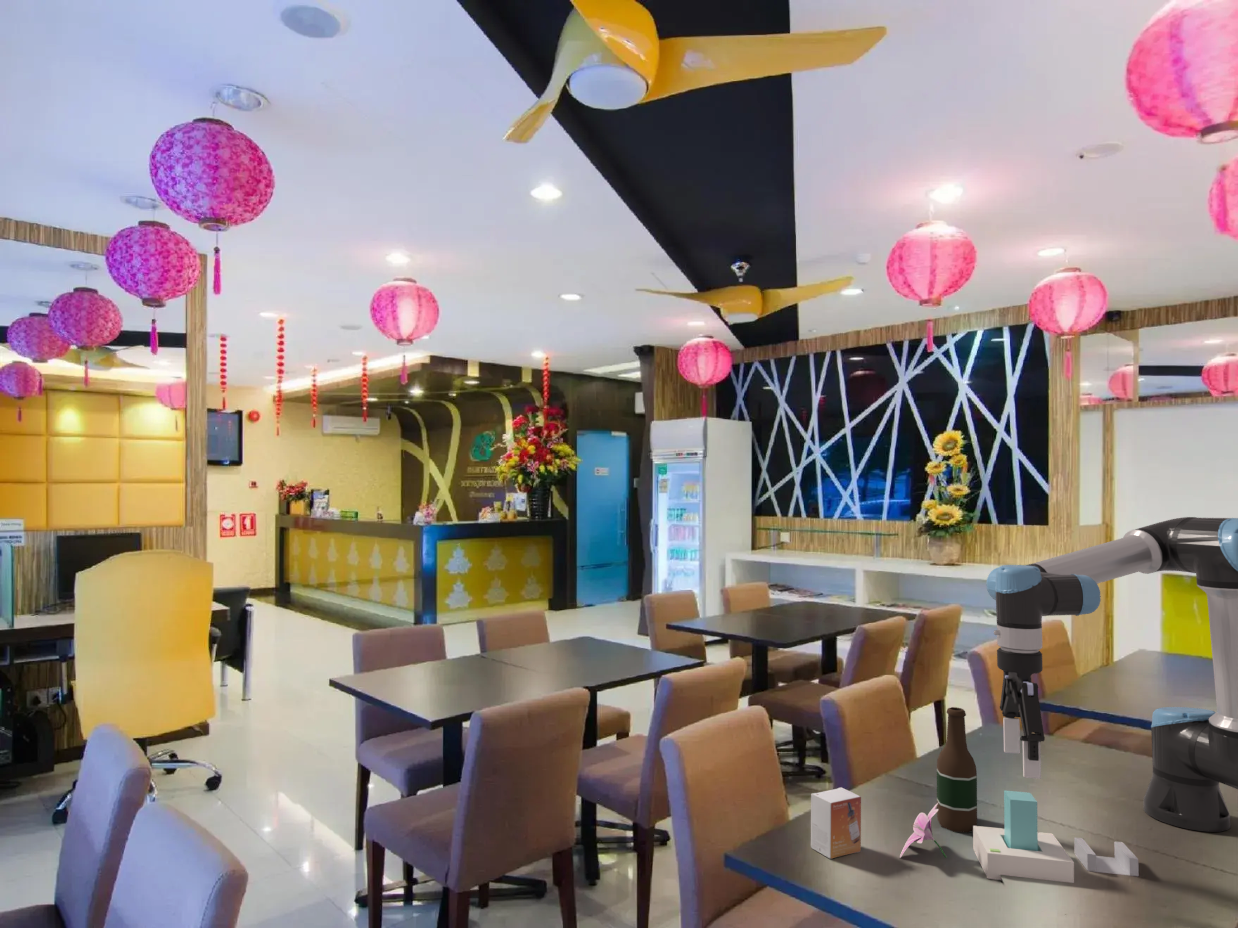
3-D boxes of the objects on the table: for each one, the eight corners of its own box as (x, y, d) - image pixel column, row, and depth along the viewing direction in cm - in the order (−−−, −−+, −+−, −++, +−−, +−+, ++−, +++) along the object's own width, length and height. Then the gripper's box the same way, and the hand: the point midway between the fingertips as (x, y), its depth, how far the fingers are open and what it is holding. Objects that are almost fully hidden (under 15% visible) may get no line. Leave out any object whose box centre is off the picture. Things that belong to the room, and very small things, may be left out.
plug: (1030, 857, 146) (1030, 792, 147) (1037, 868, 142) (1037, 801, 142) (1004, 854, 147) (1004, 790, 148) (1010, 865, 143) (1010, 799, 143)
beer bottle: (974, 836, 157) (973, 716, 158) (933, 827, 162) (932, 709, 162) (979, 823, 164) (979, 707, 165) (940, 814, 168) (939, 701, 169)
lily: (925, 841, 157) (900, 797, 158) (977, 837, 149) (951, 791, 150) (900, 879, 149) (873, 833, 150) (953, 878, 141) (925, 828, 142)
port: (1052, 857, 149) (1052, 832, 149) (1074, 888, 137) (1073, 860, 137) (973, 848, 152) (973, 824, 152) (987, 878, 140) (987, 851, 140)
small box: (830, 860, 147) (830, 803, 147) (809, 847, 152) (810, 792, 152) (862, 851, 150) (862, 795, 151) (841, 840, 155) (841, 786, 156)
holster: (1122, 863, 146) (1122, 842, 147) (1138, 881, 140) (1138, 858, 140) (1074, 858, 148) (1074, 837, 148) (1087, 876, 141) (1087, 853, 142)
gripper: (982, 636, 159) (984, 741, 158) (1015, 662, 135) (1017, 787, 134) (1022, 637, 157) (1024, 744, 156) (1063, 664, 133) (1066, 790, 132)
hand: (1021, 764), depth 145 cm, fingers open, 13 cm apart
